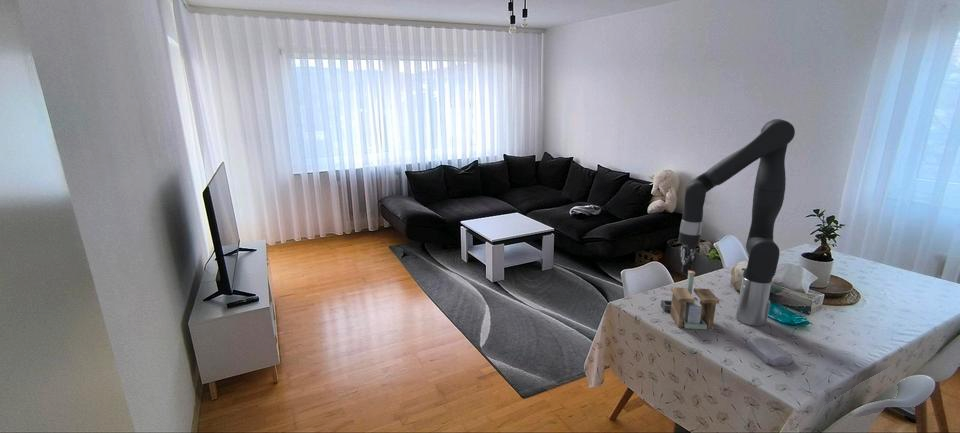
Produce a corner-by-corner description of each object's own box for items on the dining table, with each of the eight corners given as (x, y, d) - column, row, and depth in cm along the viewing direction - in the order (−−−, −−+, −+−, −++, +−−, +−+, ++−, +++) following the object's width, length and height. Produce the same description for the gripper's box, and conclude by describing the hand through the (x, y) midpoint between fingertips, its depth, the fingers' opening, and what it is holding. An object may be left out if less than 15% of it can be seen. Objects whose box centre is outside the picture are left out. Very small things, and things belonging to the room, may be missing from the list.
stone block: (767, 349, 151) (742, 346, 149) (773, 338, 149) (747, 334, 148) (794, 371, 139) (766, 367, 138) (800, 359, 138) (772, 355, 137)
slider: (694, 313, 171) (701, 271, 167) (706, 329, 160) (713, 284, 155) (674, 312, 172) (680, 270, 167) (685, 328, 160) (691, 283, 156)
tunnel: (704, 316, 170) (708, 288, 167) (714, 329, 160) (719, 300, 157) (667, 314, 171) (670, 287, 168) (675, 327, 162) (679, 298, 159)
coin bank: (747, 278, 205) (753, 253, 200) (773, 298, 189) (780, 271, 184) (715, 281, 204) (720, 255, 199) (739, 301, 188) (745, 273, 183)
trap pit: (699, 307, 177) (699, 302, 176) (703, 313, 172) (704, 307, 171) (660, 305, 178) (661, 300, 178) (664, 311, 174) (664, 305, 173)
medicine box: (699, 327, 162) (702, 306, 159) (686, 326, 162) (689, 305, 160) (693, 317, 169) (696, 297, 167) (681, 316, 170) (684, 296, 168)
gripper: (706, 237, 162) (700, 280, 167) (694, 226, 175) (688, 267, 179) (685, 236, 163) (680, 279, 167) (675, 226, 176) (669, 266, 180)
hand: (684, 272), depth 173 cm, fingers closed
